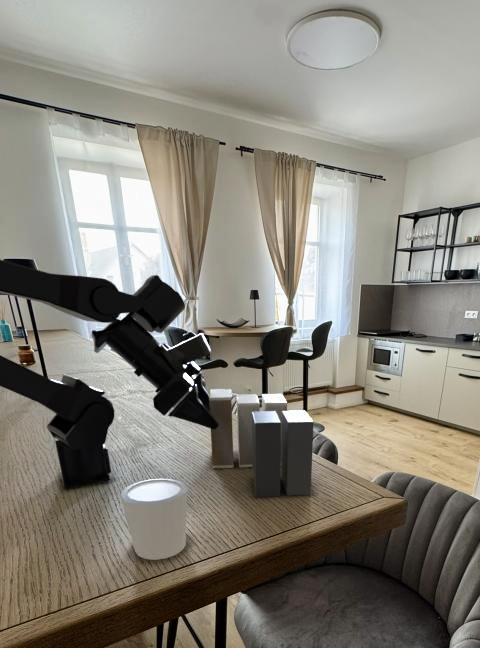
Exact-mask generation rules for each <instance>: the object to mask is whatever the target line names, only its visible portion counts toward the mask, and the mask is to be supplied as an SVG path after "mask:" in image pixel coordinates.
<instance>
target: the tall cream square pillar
mask: <svg viewBox="0 0 480 648" xmlns="http://www.w3.org/2000/svg"><path fill="white" fill-rule="evenodd" d="M232 402H233V401H232V389H231V388H210V390H209V407H210V413H211V415H212V416H213V417H214V418H215V420H216V421H217V422H218V424H219V426H218V427H217V428H216V429H211V428H210V440H211V441H210V442H211V444H210V445H211V460H212V461H211V463H212V469H229V468H230V469H232V468H234V467H235V466H234V465H235V464H234V433H233V405H232Z"/></svg>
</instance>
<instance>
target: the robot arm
mask: <svg viewBox="0 0 480 648" xmlns="http://www.w3.org/2000/svg"><path fill="white" fill-rule="evenodd" d="M0 294H2V295H8V296H12V297H16V298H21V299H25V300H30V301H34V302H38V303H41V304H44V305H46V306H49V307H51V308H54V309H55V310H56V311H57V310H58V311H59V312H62V313H63V314H67V315H69V316H72V317H75V318H76V319H79V320H82V321H85V322H91V323H92V322H94V323H104V324H105V323H107V324H106V325H105V327H103V329H100V330H97V329H96V330H95V329H93V330H92V331H91V335H90V336H91V338H92V340H93V341H92V342H93V351H94V353H96V354H99V353H100V352H102V350H103V349H104V348H105V347H107V346H108V347H109V348H111V349H112V350H113V351H114V352H115V353H116V354H117V355H118V356H119V357H120V358H121V359H122V360H124V361H125V362H126V363H127V364H128V365H129V366H131V367H132V368H133V369H134V371H133V374H134V375H136V376H137V377H138V378H139V377H141V376H142V377H143V378H144V379H145V380H147V382H149V383H150V384H151V385H152V386H153V387H154V388H155V391H154V392H155V393H156V394H155V395H154V397H153V398H152V401H153V408H154V409H155V410H156V411H157V412H159V414H161V415H162V416H163V417H164V416H166V415H167V416H168V417H170V418H172V417H173V418H176V419H179V420H183V421H187V422H189V423H193V424H196V425H199V426H202V427H205V428H208V429H210V430H211V429H216V428H217V427H218V426H219V424H218V422H217V421H216V420H215V418H214V417H213V416H212V415H211V413H210V407H209V395H210V393H208V391H207V389H206V388H205V386H204V385H203V372H202V371H200V370H201V367H199V365H198V364H197V363H196V362H195V360H197V359H199V358H204V357H206V356H208V355H210V354H211V353H212V349H211V347H210V345H209V343H208V341H207V338H206V337H205V335H204V333H203V332H200V333H199V334H196V333H195V332H194V331H192V330H190V331H187V332H186V333H184V334H182V342H180V343H178V344H176V345H174V346H172V347H171V346H170V345H169V344H168V343H166V342H160V341H159V340H157V339H156V338H155V337H154V336H153V335H152V334H151V333H154V332H156V333H158V334H162V333H163V332H164V331H165V330H166V329H167V328H168V327H169V326H171V324H172V323H173V322H174V321H175V320H176V319H177V318H178V317H179V316H180V315H181V314H182V312H184V310H185V308H186V304H185V301H184V298H183V297H182V295H181V294H180V293H179V292H178V291H176V290H175V289H174V288H173V287H172V286H171V285H169V284H168V283H166V282H165V281H163V280H162V279H161V277H160V276H159V275H158V274H155V275H149V276H148V278H146V280H144V282H143V284H142V285H141V286H140V287H139V288H138V289H137V290H136V291H135V292H134V293H133V294H130V293H126V292H125V291H124V292H123V291H120V290H119V289H118V287H117V285H116V284H115V283H113V282H112V280H111V281H110V280H108V279H106V278H102V277H93V276H85V275H84V276H83V275H73V274H72V275H71V274H60V273H50V272H47V271H42V270H40V269H35V268H32V267H28V266H24V265H21V264H17V263H14V262H10V261H6V260H3V259H0ZM121 314H126V315H125V316H123V318H122V319H119V317H120V315H121ZM198 372H199V373H198ZM195 374H197V375H195ZM0 387H2V388H3V389H6V390H9V391H11V392H13V393H15V394H18V395H20V396H21V397H22V396H23V397H24V398H27V399H30V400H32V401H34V402H36V403H38V404H40V405H41V406H42V407H45V408H46V409H48V410H49V411H51V412H52V413H54V414H55V415H54V416H53V417H52V418H51V420H50V421H49V422H48V423H47V425H46V429H47V430H48V432H49V433H50V435H51V436H52V438H54V439H56V440H54V444H55V448H56V449H55V450H56V453H57V458H58V463H59V469H60V472H59V474H60V478H61V481H62V482H61V483H62V486H63V489H71V488H79V487H84V486H89V485H93V484H95V485H96V484H101V483H106V482H110V481H111V477H110V474H111V473H112V469H111V461H110V455H109V449H108V447H107V446H106V440H107V436H108V431H109V428H110V427H111V425H112V424H113V422H114V419H115V408H114V405H113V403H112V401H111V400H110V399H108V398H107V397H105V396H104V395H105V394H106V392H105V391H104V390H101V389H99V388H95V387H93V386H90V385H88V384H87V383H86V382H84V381H83V380H82V379H80V378H76V377H74V376H71V375H69V374H65V373H63V374H62V378H61V381H59V380H54V379H50V378H48V377H46V376H44V375H42V374H40V373H38V372H36V371H34V370H32V369H30V368H28V367H26V366H23V365H21V364H20V363H18V362H15V361H13V360H11V359H9V358H8V357H7V358H6V356H2V355H0Z"/></svg>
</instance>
